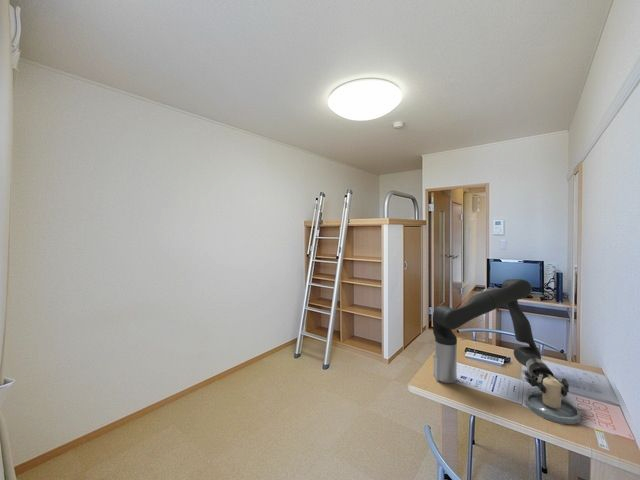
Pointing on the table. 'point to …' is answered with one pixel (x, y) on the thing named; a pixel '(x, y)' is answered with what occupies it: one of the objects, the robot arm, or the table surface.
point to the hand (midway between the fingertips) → (554, 392)
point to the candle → (552, 392)
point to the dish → (553, 409)
